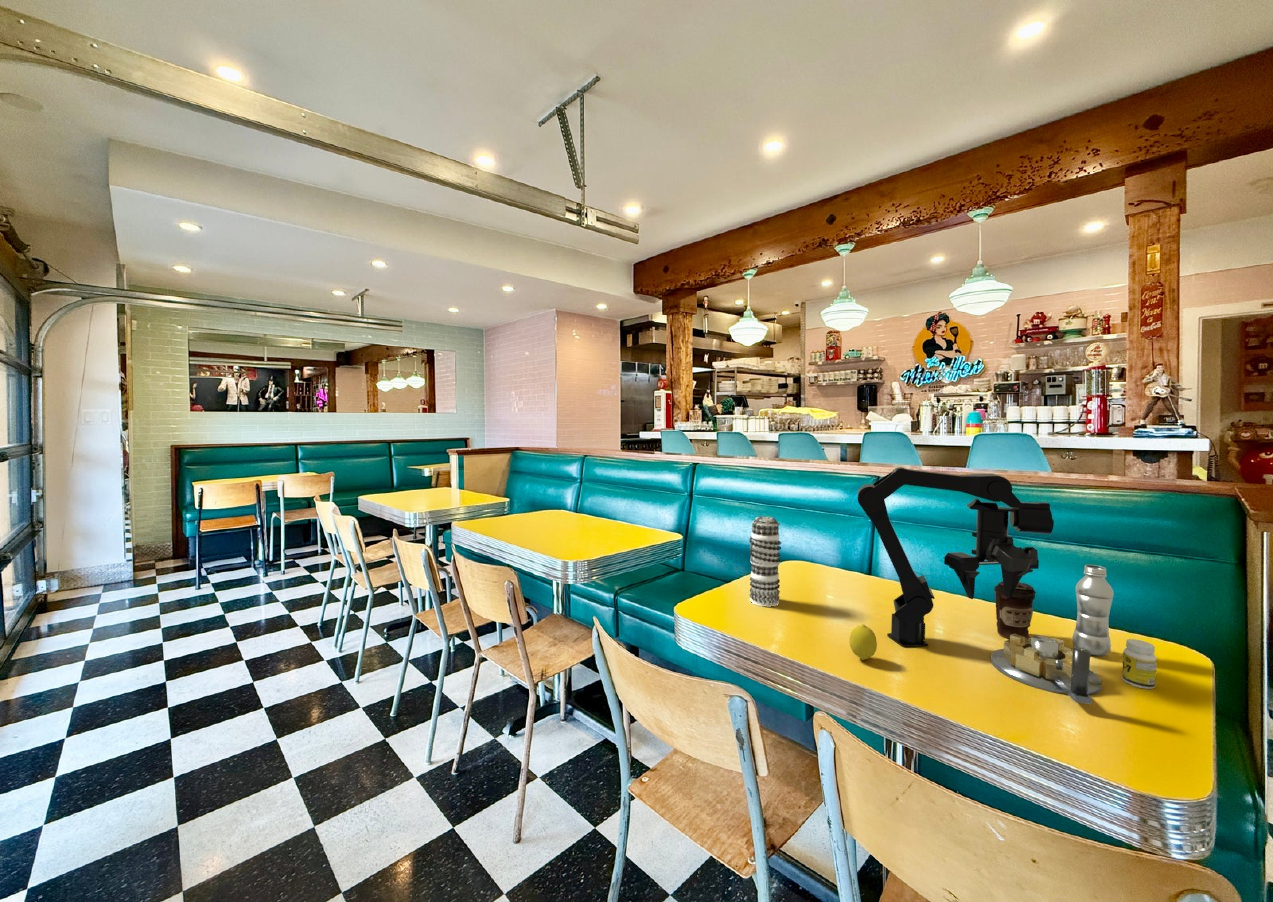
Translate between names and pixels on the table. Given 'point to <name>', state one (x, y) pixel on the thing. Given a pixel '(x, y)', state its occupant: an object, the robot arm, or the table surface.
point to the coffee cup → (1014, 610)
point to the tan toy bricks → (1053, 665)
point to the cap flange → (1046, 650)
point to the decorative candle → (765, 562)
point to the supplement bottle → (1139, 664)
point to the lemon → (863, 642)
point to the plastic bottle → (1093, 611)
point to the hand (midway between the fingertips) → (989, 597)
